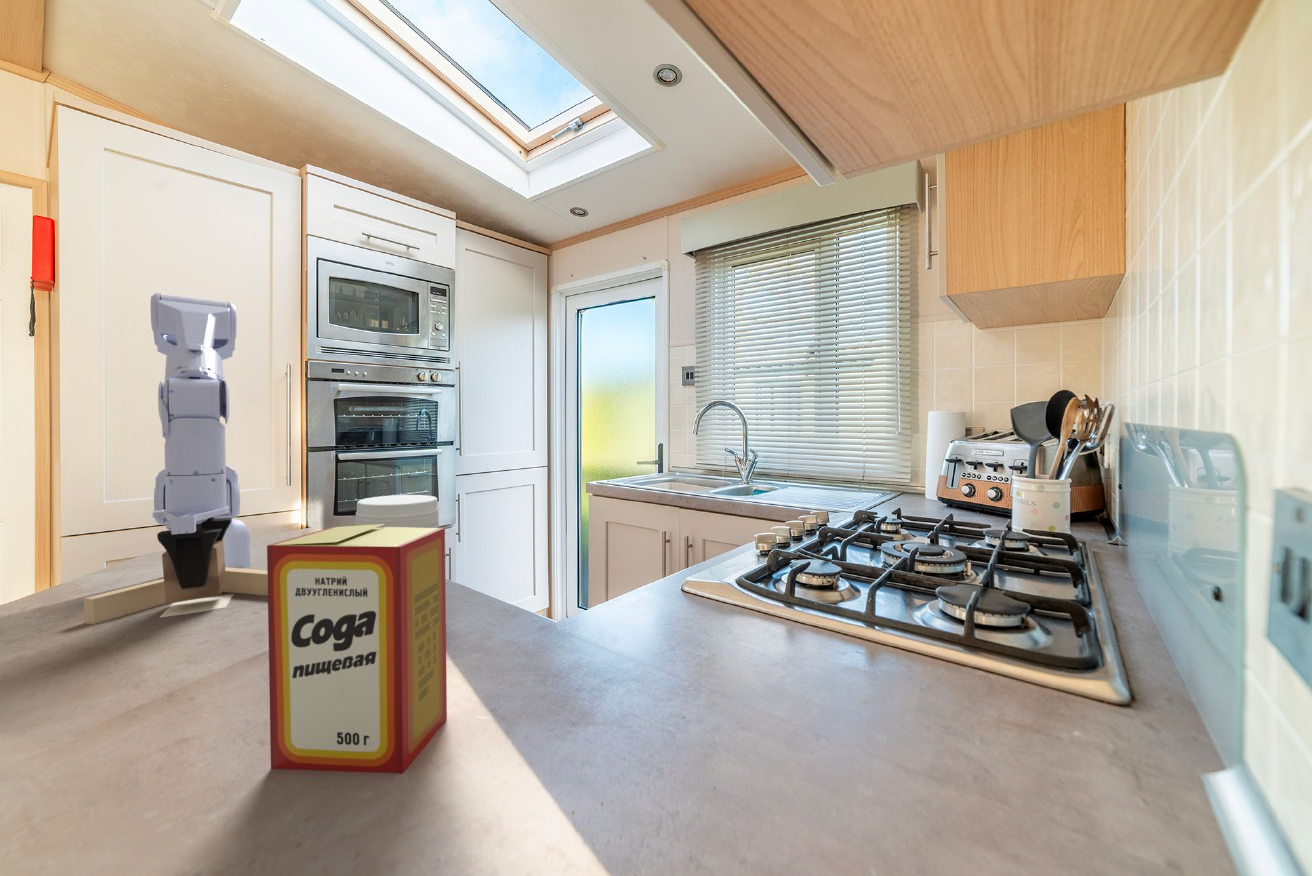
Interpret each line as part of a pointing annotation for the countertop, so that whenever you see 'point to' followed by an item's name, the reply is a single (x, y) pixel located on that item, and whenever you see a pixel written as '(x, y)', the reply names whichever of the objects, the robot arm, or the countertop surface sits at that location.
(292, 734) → the baking soda box
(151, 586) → the corner board
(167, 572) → the walnut block
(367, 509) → the supplement tub
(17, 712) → the countertop surface
